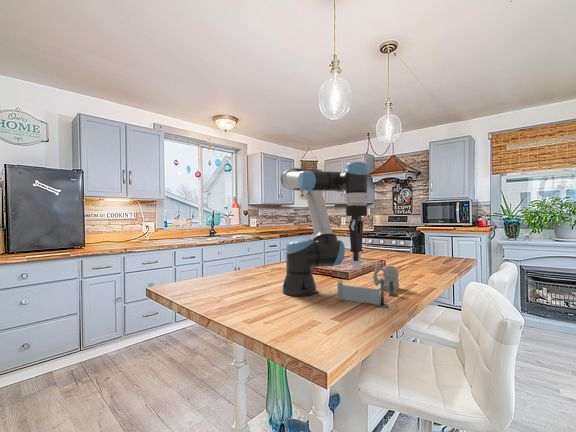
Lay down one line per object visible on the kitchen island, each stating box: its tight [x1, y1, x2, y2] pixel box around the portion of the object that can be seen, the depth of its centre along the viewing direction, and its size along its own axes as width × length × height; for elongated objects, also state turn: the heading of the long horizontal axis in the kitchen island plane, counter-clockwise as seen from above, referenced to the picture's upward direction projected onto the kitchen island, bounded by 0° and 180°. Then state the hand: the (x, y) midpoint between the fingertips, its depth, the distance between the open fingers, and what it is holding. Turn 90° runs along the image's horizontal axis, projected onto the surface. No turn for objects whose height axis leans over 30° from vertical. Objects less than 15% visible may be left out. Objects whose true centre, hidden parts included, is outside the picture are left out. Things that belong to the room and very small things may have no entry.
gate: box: [337, 279, 381, 305], centre depth 108 cm, size 16×2×7 cm, turn 63°
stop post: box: [388, 280, 399, 298], centre depth 118 cm, size 3×4×6 cm
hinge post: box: [376, 278, 389, 309], centre depth 104 cm, size 4×4×10 cm
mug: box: [372, 262, 400, 291], centre depth 128 cm, size 8×12×12 cm, turn 87°
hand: (356, 269), depth 102 cm, fingers closed
